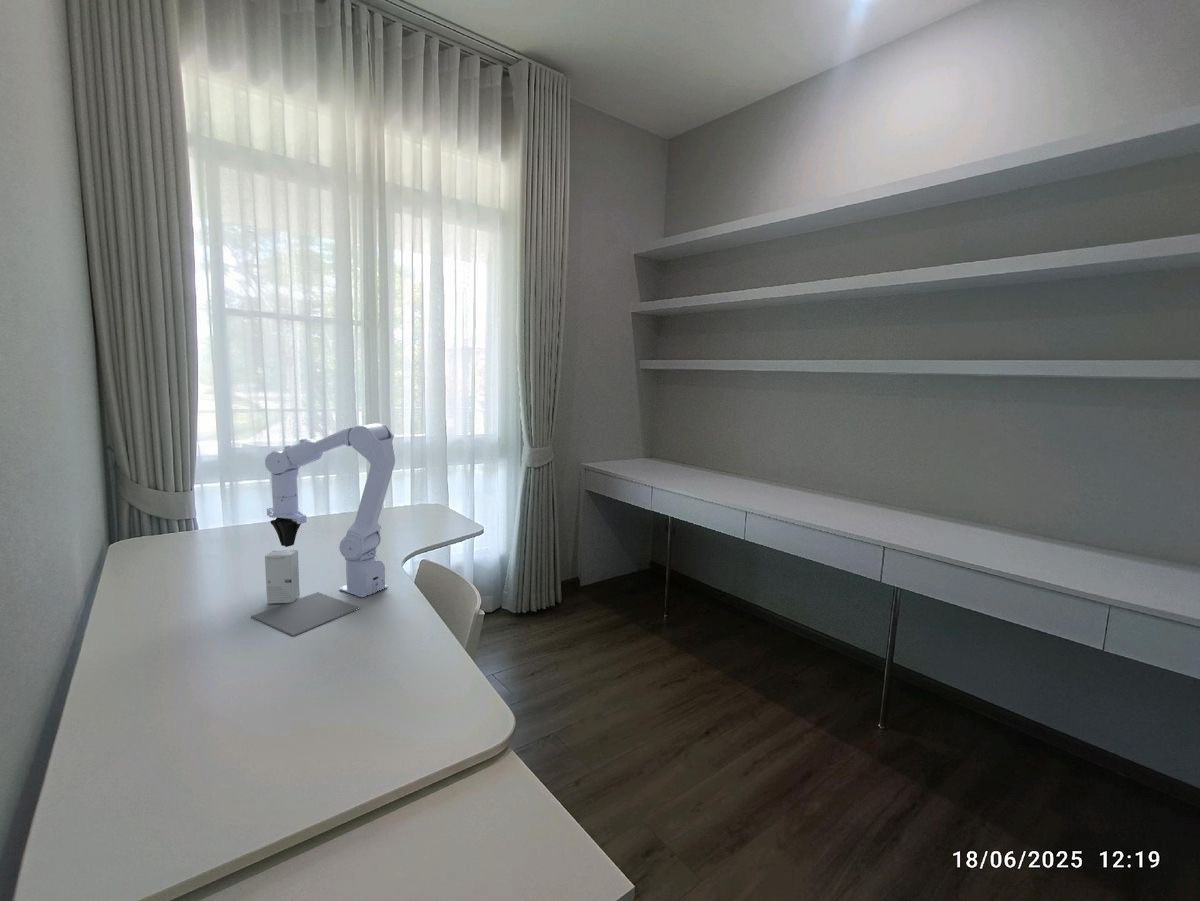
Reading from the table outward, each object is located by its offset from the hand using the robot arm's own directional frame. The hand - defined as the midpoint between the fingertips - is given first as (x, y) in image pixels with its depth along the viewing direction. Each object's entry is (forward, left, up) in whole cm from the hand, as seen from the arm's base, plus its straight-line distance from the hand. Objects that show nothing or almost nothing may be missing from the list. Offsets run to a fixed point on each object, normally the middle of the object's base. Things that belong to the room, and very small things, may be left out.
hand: (287, 545), depth 136 cm
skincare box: (-10, +7, -10) cm, 16 cm away
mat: (-21, +8, -10) cm, 25 cm away
